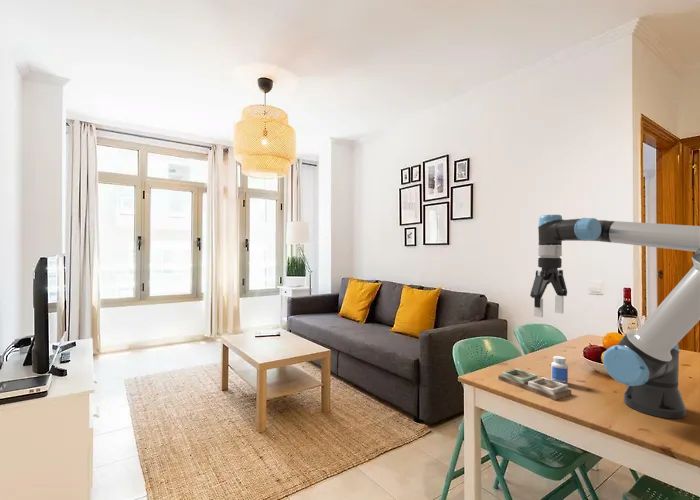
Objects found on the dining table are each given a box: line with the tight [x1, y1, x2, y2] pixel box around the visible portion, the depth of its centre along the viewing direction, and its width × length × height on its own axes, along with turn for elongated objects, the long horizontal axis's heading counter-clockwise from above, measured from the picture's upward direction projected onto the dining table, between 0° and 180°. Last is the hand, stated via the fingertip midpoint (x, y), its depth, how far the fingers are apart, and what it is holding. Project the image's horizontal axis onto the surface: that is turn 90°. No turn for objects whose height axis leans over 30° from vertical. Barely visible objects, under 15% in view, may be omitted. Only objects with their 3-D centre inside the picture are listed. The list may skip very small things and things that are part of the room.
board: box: [497, 368, 572, 401], centre depth 131 cm, size 22×10×3 cm, turn 31°
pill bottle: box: [550, 355, 569, 385], centre depth 135 cm, size 6×5×10 cm
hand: (549, 314), depth 131 cm, fingers open, 13 cm apart
